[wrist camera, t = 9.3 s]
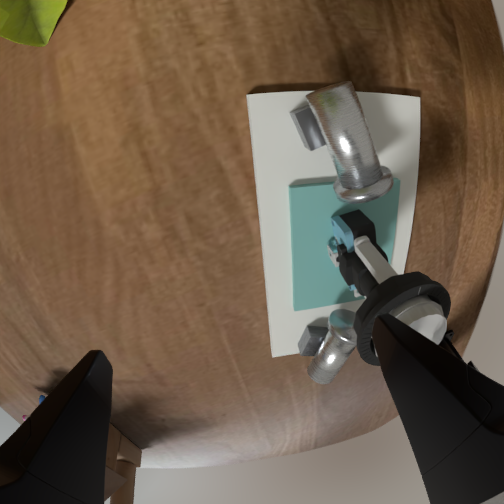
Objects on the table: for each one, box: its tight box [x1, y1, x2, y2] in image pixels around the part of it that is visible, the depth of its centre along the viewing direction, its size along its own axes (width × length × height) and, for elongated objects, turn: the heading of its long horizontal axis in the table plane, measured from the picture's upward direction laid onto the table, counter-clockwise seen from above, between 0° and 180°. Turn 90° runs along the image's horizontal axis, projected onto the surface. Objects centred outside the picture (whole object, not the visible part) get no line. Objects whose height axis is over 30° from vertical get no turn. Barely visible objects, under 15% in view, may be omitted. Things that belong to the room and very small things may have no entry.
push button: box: [327, 209, 451, 366], centre depth 16 cm, size 7×5×10 cm
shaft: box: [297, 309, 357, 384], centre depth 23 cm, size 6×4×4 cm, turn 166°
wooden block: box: [104, 423, 142, 504], centre depth 28 cm, size 4×11×18 cm, turn 10°
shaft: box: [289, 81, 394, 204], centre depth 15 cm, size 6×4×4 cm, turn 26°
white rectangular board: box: [246, 91, 420, 357], centre depth 21 cm, size 12×22×1 cm, turn 6°
